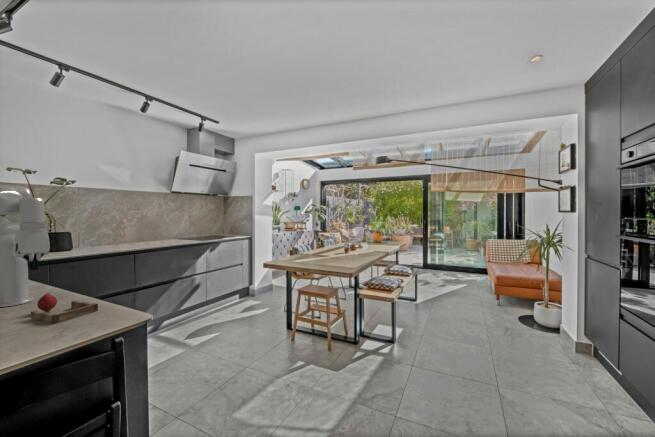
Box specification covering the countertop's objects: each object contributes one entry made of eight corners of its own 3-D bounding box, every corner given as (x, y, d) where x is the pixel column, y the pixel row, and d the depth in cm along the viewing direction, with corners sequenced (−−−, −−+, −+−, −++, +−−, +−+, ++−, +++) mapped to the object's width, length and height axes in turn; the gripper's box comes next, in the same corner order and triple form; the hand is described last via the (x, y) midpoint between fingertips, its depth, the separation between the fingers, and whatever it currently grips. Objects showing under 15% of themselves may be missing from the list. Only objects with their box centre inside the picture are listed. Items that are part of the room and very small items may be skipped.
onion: (44, 314, 116) (44, 295, 116) (33, 313, 117) (33, 294, 117) (60, 310, 122) (60, 291, 122) (49, 309, 123) (49, 290, 123)
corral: (31, 319, 111) (30, 311, 111) (75, 307, 125) (75, 300, 125) (54, 323, 107) (54, 315, 107) (97, 310, 121) (97, 303, 121)
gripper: (48, 225, 130) (49, 266, 130) (2, 227, 116) (3, 272, 116) (59, 226, 128) (60, 267, 128) (14, 227, 113) (15, 273, 114)
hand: (33, 269), depth 122 cm, fingers closed
